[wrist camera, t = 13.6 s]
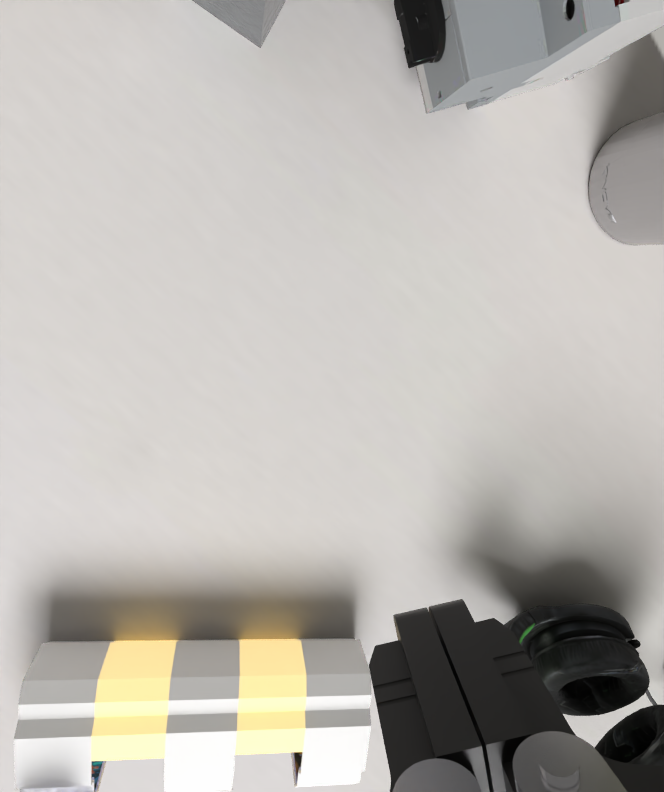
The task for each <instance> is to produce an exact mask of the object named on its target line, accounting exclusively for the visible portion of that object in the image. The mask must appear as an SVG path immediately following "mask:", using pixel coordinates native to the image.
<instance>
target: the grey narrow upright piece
mask: <svg viewBox="0 0 664 792" xmlns="http://www.w3.org/2000/svg"><path fill="white" fill-rule="evenodd" d="M394 6H395V11H396V16H397V20H399V22H400V27H401V31H402V36H403V40H404V44H405V47H404V51H405V55H406V59H407V63H408V68H411V67H414V66H416V69H417V74H418V78H419V83H420V87H421V91H422V96H423V100H424V105H425V109H426V113H427V114H428V113H432V112H435V111H438V110H442V109H445V108H449V107H452V106H456V105H459V104H462V103H467V108H468V109H472V108H475V107H478V106H482V105H485V104H488V103H492V102H495V101H499V100H502V99H506V98H509V97H512V96H516V95H519V94H523V93H526V92H529V91H533V90H536V89H540V88H543V87H546V86H550V85H553V84H555V83H557V82H559V81H561V80H563V79H565V80H566V81H567V80H570V79H572V78H574V75H577V74H580V73H584V72H585V71H587V70H589V69H591V68H593V67H595V66H597V65H598V64H600V63H602V62H604V61H606V60H608V59H610V56H609V55H611V54H613V53H615V52H616V51H618V50H620V49H622V48H624V47H626V46H627V45H629V44H631V43H633V42H635V41H636V40H638V39H640V38H642V37H644V36H646V35H647V34H649V33H651V32H653V31H655V30H656V29H658V28H660V27H662V26H664V0H394Z"/></svg>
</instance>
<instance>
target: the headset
mask: <svg viewBox="0 0 664 792" xmlns="http://www.w3.org/2000/svg"><path fill="white" fill-rule="evenodd" d="M504 626H506V627H507V628H509V629H510V630H511V631H513V632H514V634H515V636H516V637H517V639H518V641H519V642H520V644H521V646H522V647H523V649H524V651H525V654H527V656H528V657H529V659H530V661H531V662H532V664H533V666H534V669H535V670H536V671H537V672H538V674H539V676H540V677H541V679H542V681H543V682H544V684H545V686H546V687H547V689H548V691H549V692H550V694H551V696H552V697H553V699H554V701H555V703H556V704H557V706H558V708H559V709H560V711H561V713H562V714H567V715H574V716H591V715H600V714H605V713H608V712H611V711H615V710H617V709H619V708H622V707H624V706H627V705H629V704H631V703H633V702H634V701H636V700H638V699H639V698H640V697H641V696H642V695H644V693H645V692H646V694H647V696H648V698H649V700H650V701H651V703H652V704H653V706H649V707H646V708H642V709H640V710H638V711H636V712H634V713H632V714H631V715H629V716H627V717H625V718H624V719H623V720H622V721H620V722H619V723H618V724H616V725H615V726H614V727H613V728H612V729H610V730H609V731H608V732H607V733H606V734H605V736H604V737H603V738H602V739H601V740H600V741H599V743H598V744H597V745H596V747H595V749H596V750H597V751H598V752H599V754H600V755H602V756H604V757H607V758H609V759H612V760H615V761H619V762H623V763H630V764H641V765H655V766H664V705H657V703H656V702H655V701H654V699H653V698H652V696H651V695H650V692H649V691H648V687H649V675H648V672H647V669H646V667H645V665H644V663H643V662H642V660H641V659H640V658H639V653H638V652H637V650H636V649H635V648H638V647H640V642H639V641H638V640H632V639H633V638H634V634H633V632H632V630H631V628H630V625H629V623H628V622H627V620H626V619H625V618H624V617H623V616H622V615H620V614H619V613H617V612H615V611H614V610H611V609H609V608H606V607H602V606H598V605H591V604H571V605H563V606H558V607H545V606H540V607H536V608H533V609H530V610H528V611H526V612H523V613H520V614H519V615H517V616H516V617H515V618H513V619H512V620H510V621H509V622H507V623H506V624H504Z"/></svg>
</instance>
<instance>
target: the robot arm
mask: <svg viewBox="0 0 664 792" xmlns="http://www.w3.org/2000/svg"><path fill="white" fill-rule="evenodd" d="M589 199H590V204H591V208H592V212H593V214H594V216H595V218H596V220H597V222H598V224H599V225H600V226H601V228H602V229H603V230H604V232H606V233H607V234H608V235H609V236H611V237H612V238H613V239H615V240H617V241H619V242H622V243H625V244H630V245H662V244H664V112H661V113H658V114H655V115H652V116H649V117H646V118H644V119H641V120H638V121H635V122H632V123H630V124H628V125H626V126H624V127H622V128H621V129H619V130H618V131H617V132H616V133H614V134H613V135H612V136H611V137H610V138H609V139H608V140H607V142H606V143H605V144H604V145H603V146H602V148H601V150H600V152H599V153H598V155H597V157H596V159H595V162H594V164H593V167H592V170H591V175H590V181H589ZM393 616H394V622H395V627H396V632H397V637H398V641H394V642H390V643H385V644H381V645H377V646H375V648H374V651H373V654H372V658H371V661H370V664H369V669H370V674H371V679H372V684H373V689H374V694H375V699H376V704H377V709H378V714H379V719H380V724H381V729H382V734H383V739H384V744H385V749H386V754H387V759H388V764H389V769H390V775H391V789H390V792H664V766H655V765H641V764H630V763H623V762H619V761H615V760H612V759H609V758H607V757H604V756H602V755H600V754H599V752H598V751H597V750H596V749H595V748H594V747H593V746H592V745H590V744H589V743H588V742H586V741H584V740H583V739H581V738H579V737H577V736H576V735H575V734H574V732H573V731H572V729H571V728H570V726H569V724H568V723H567V721H566V719H565V718H564V716H563V714H562V713H561V711H560V709H559V708H558V706H557V704H556V703H555V701H554V699H553V697H552V696H551V694H550V692H549V691H548V689H547V687H546V686H545V684H544V682H543V681H542V679H541V677H540V676H539V674H538V672H537V671H536V670H535V669H534V666H533V664H532V662H531V661H530V659H529V657H528V656H527V654H525V651H524V649H523V647H522V646H521V644H520V642H519V641H518V639H517V637H516V636H515V634H514V632H513V631H511V630H510V629H509V628H507V627H506V626H504V625H503V624H502V623H500V622H499V621H497V620H496V619H495V618H492V619H488V620H484V621H480V622H474V620H473V618H472V616H471V614H470V612H469V610H468V608H467V606H466V604H465V602H464V601H463V600H462V599H460V600H456V601H451V602H447V603H443V604H438V605H434V606H430V607H429V611H428V609H427V608H422V609H417V610H413V611H409V612H404V613H400V614H396V615H393Z"/></svg>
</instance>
